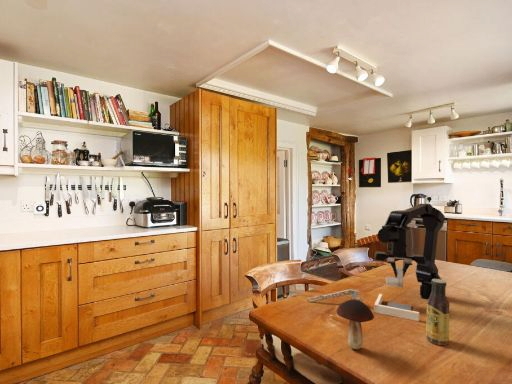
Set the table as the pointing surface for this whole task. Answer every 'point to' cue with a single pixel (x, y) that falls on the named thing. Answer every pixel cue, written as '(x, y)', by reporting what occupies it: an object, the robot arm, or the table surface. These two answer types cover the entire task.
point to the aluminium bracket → (396, 281)
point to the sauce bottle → (438, 314)
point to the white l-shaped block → (394, 311)
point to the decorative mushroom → (355, 320)
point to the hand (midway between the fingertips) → (399, 277)
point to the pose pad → (399, 306)
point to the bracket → (353, 292)
